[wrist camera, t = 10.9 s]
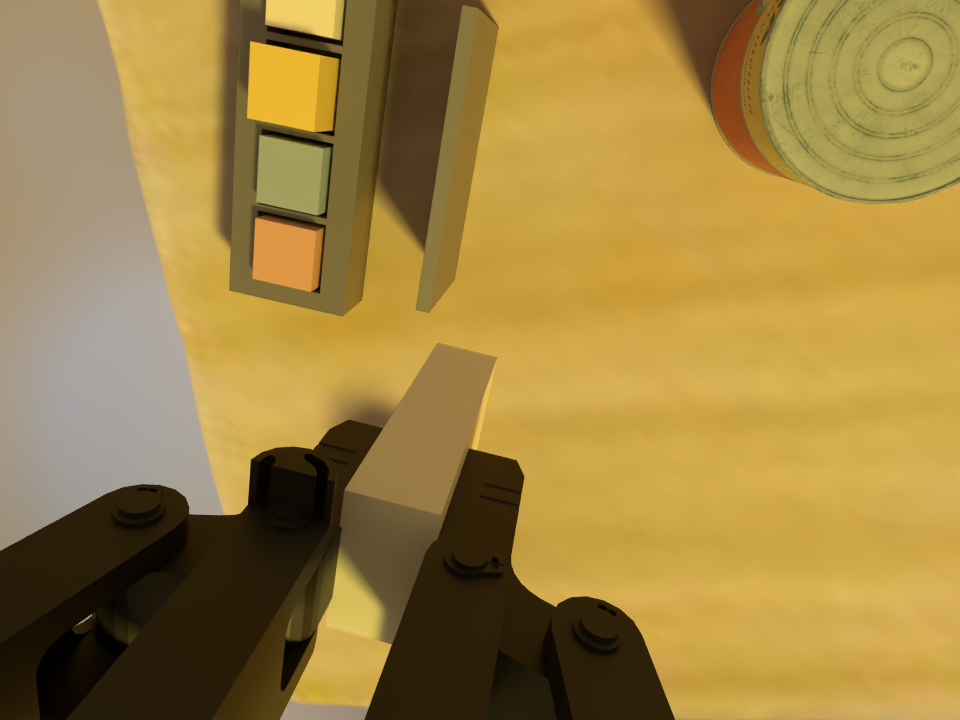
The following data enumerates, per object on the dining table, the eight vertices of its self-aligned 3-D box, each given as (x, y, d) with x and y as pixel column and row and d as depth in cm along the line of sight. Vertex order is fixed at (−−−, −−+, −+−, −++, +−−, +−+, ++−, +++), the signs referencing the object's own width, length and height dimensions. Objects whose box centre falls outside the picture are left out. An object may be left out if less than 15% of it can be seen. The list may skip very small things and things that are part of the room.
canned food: (888, -77, 35) (1030, -165, 24) (942, 124, 38) (1091, 131, 26) (682, 31, 38) (722, -1, 27) (747, 209, 41) (806, 246, 30)
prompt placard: (483, 24, 39) (459, 4, 32) (498, 27, 39) (478, 8, 32) (441, 276, 45) (413, 309, 38) (454, 279, 45) (428, 312, 38)
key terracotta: (279, 209, 44) (255, 217, 41) (336, 222, 44) (316, 231, 40) (276, 266, 45) (252, 278, 42) (330, 278, 45) (310, 292, 42)
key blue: (284, 133, 42) (259, 135, 39) (343, 145, 42) (323, 148, 39) (280, 195, 44) (256, 202, 40) (337, 207, 43) (317, 215, 40)
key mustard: (278, 46, 39) (250, 41, 35) (342, 59, 38) (320, 55, 35) (274, 117, 40) (246, 118, 37) (335, 130, 40) (313, 132, 37)
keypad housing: (275, -73, 39) (243, -92, 35) (403, -49, 38) (384, -66, 35) (257, 276, 47) (229, 290, 44) (361, 300, 47) (342, 316, 43)
